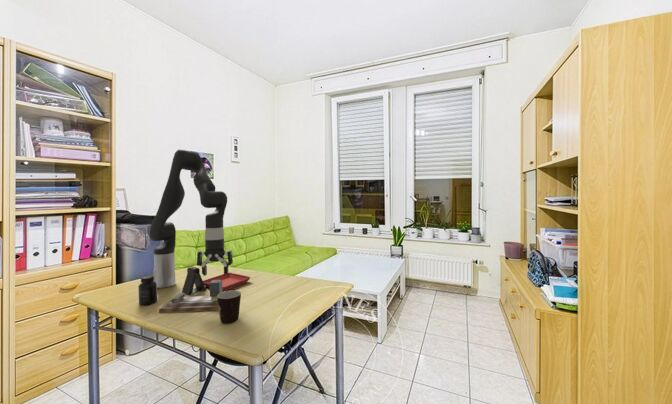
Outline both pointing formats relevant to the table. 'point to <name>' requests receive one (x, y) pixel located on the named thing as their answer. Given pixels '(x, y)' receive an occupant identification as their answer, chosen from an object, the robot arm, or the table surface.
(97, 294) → the table surface
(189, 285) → the phone stand
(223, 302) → the coffee mug
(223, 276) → the plant saucer
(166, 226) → the robot arm
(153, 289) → the supplement bottle
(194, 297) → the slider puzzle board
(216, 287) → the leg
